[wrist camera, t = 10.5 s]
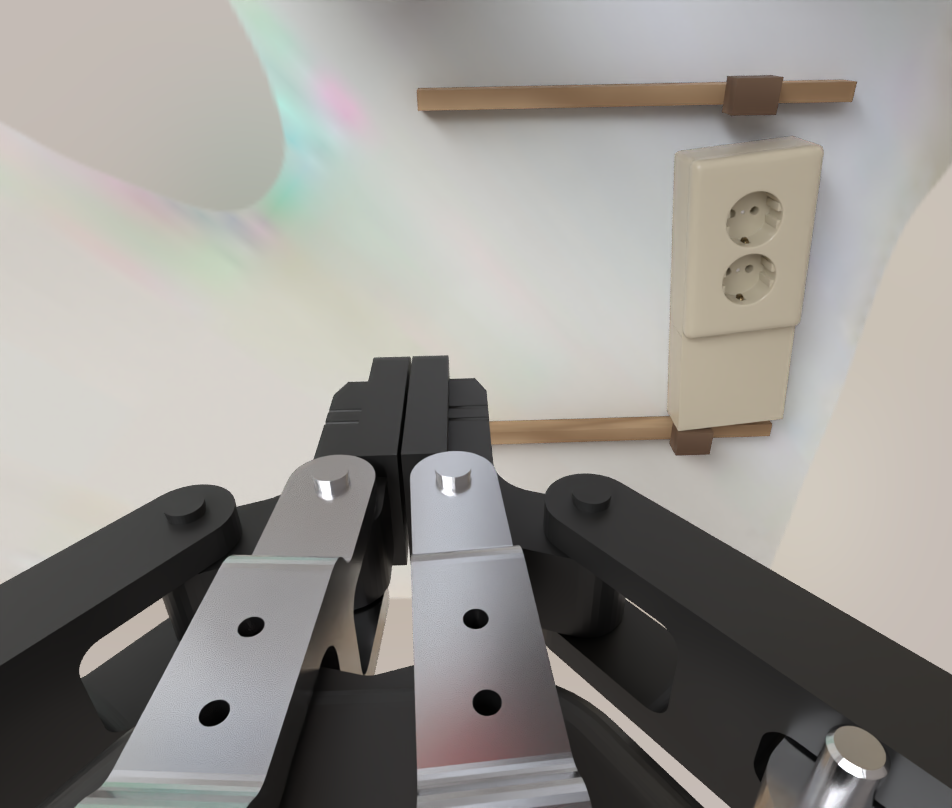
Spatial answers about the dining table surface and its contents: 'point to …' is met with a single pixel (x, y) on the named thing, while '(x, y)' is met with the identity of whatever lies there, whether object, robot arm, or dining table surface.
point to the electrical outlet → (738, 277)
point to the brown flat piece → (734, 95)
